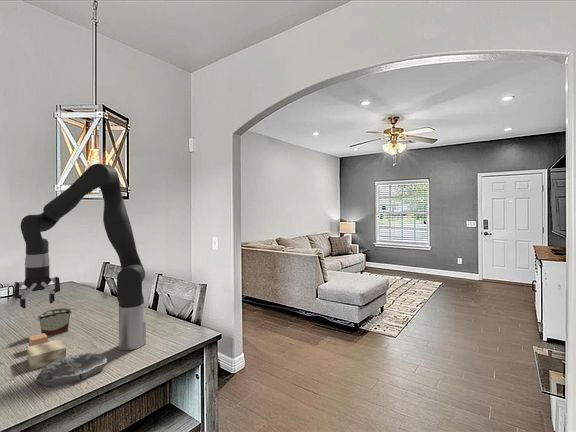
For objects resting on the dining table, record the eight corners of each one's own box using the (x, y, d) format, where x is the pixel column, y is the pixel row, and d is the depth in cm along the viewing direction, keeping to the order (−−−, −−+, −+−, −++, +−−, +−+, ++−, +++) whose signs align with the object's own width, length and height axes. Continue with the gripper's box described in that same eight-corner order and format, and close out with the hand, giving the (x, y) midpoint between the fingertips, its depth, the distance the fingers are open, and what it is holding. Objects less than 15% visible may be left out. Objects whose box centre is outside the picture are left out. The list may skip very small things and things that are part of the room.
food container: (67, 327, 146) (67, 306, 146) (71, 330, 142) (71, 309, 142) (34, 335, 137) (34, 312, 136) (38, 339, 133) (37, 316, 133)
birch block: (59, 351, 123) (59, 339, 123) (66, 360, 116) (65, 347, 116) (27, 360, 116) (27, 347, 116) (31, 370, 109) (31, 356, 109)
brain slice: (95, 355, 121) (95, 347, 120) (112, 371, 109) (112, 363, 109) (31, 375, 106) (30, 367, 106) (42, 396, 95) (42, 386, 94)
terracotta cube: (44, 345, 128) (44, 333, 128) (47, 348, 125) (47, 336, 124) (29, 349, 124) (28, 336, 124) (31, 353, 121) (31, 340, 121)
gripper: (15, 268, 115) (16, 312, 116) (61, 263, 126) (62, 303, 127) (11, 266, 120) (12, 307, 121) (56, 261, 131) (57, 299, 132)
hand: (37, 305), depth 124 cm, fingers open, 8 cm apart
